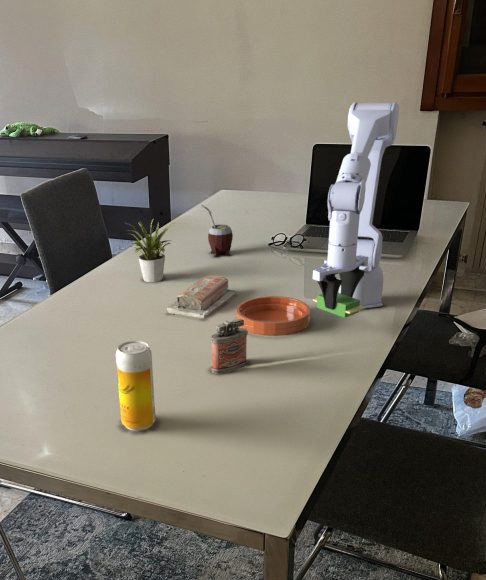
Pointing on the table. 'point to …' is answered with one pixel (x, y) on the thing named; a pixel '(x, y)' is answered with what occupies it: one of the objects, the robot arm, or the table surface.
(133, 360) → the beer can
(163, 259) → the house plant
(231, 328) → the lighter
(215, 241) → the mate gourd
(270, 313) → the bowl
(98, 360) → the table surface
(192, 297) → the packaged product
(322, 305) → the eraser with green sleeve
